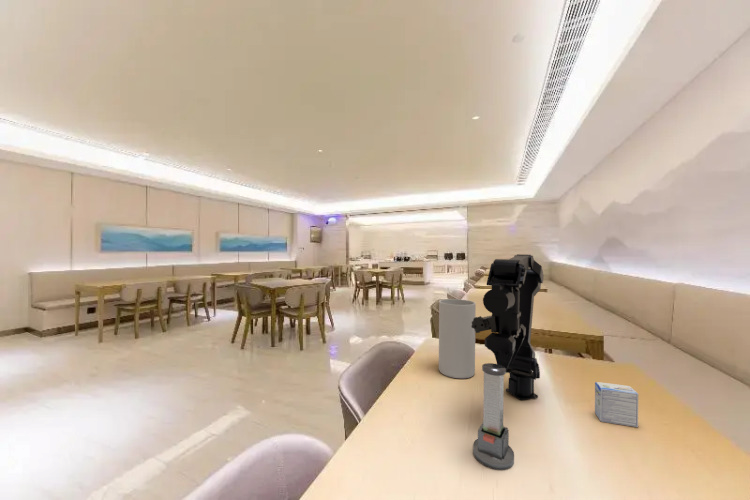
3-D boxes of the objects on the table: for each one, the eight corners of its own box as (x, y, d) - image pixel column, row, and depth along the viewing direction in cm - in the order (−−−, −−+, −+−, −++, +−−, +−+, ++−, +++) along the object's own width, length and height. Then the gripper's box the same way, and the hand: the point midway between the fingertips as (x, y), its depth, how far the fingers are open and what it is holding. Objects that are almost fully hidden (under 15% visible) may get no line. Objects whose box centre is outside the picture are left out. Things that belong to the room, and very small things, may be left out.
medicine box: (630, 419, 78) (630, 385, 78) (638, 428, 74) (639, 393, 74) (594, 413, 80) (594, 381, 81) (600, 422, 76) (600, 388, 76)
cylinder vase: (469, 382, 98) (470, 306, 99) (433, 374, 105) (434, 302, 105) (478, 370, 109) (479, 301, 109) (445, 363, 116) (445, 298, 116)
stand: (479, 439, 69) (479, 414, 69) (517, 453, 64) (517, 426, 64) (467, 458, 62) (468, 431, 62) (509, 476, 57) (509, 446, 58)
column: (485, 420, 66) (485, 361, 66) (507, 427, 64) (507, 366, 64) (478, 430, 63) (479, 368, 63) (502, 438, 60) (502, 373, 60)
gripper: (485, 300, 90) (484, 352, 89) (463, 309, 74) (463, 372, 74) (526, 304, 83) (525, 360, 83) (512, 315, 68) (511, 384, 68)
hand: (506, 368), depth 77 cm, fingers open, 9 cm apart
